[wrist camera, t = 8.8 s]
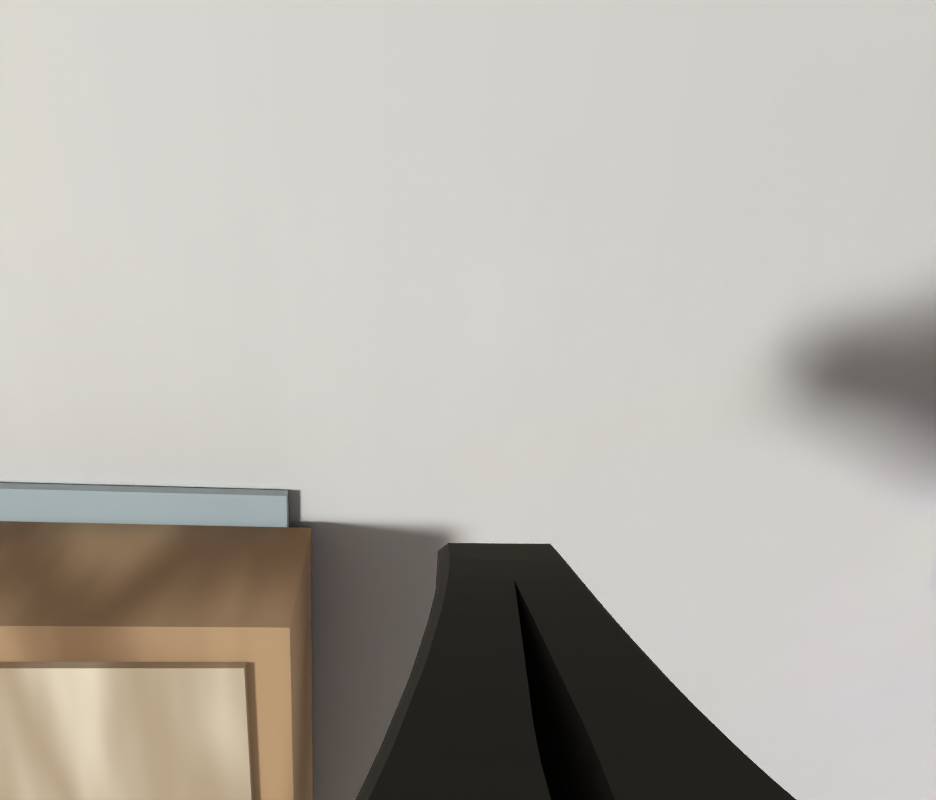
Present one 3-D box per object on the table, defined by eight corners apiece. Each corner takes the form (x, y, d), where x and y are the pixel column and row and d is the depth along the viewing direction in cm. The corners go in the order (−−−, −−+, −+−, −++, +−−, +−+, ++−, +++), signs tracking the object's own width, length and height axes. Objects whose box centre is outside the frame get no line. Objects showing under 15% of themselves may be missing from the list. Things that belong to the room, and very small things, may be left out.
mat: (288, 490, 19) (286, 496, 19) (296, 871, 25) (295, 879, 25) (-149, 478, 18) (-157, 484, 18) (-27, 881, 24) (-32, 890, 24)
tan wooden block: (288, 633, 16) (-205, 630, 14) (296, 1000, 21) (-62, 1019, 20) (311, 527, 19) (-78, 519, 18) (313, 860, 25) (13, 870, 24)
